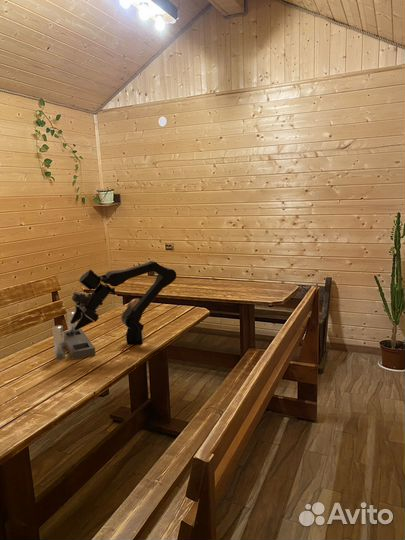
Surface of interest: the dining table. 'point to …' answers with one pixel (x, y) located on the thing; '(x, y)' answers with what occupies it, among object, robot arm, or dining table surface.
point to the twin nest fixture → (78, 345)
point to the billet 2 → (71, 326)
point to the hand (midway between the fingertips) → (73, 326)
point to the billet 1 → (59, 342)
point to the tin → (133, 302)
